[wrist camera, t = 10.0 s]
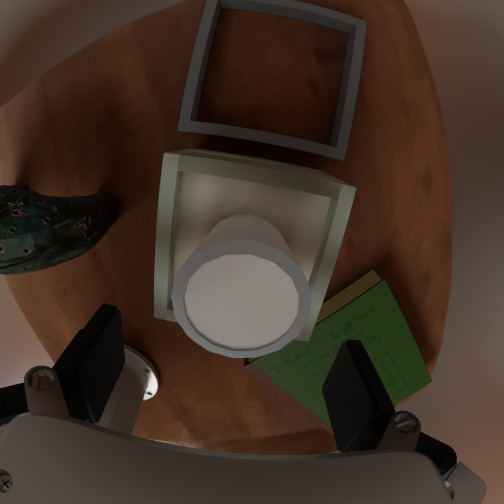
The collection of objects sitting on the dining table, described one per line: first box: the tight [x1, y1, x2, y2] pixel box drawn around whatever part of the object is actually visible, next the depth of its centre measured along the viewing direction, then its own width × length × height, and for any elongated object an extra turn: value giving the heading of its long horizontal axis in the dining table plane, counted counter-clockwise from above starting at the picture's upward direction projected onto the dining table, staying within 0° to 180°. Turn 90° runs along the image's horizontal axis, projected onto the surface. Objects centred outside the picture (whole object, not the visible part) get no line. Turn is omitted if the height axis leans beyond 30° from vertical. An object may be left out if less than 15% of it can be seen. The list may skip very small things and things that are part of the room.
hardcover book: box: [244, 269, 432, 436], centre depth 35 cm, size 25×19×4 cm
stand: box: [154, 148, 356, 341], centre depth 23 cm, size 12×12×10 cm
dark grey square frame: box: [177, 0, 367, 161], centre depth 21 cm, size 15×15×2 cm
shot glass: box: [171, 214, 312, 358], centre depth 17 cm, size 7×7×7 cm
